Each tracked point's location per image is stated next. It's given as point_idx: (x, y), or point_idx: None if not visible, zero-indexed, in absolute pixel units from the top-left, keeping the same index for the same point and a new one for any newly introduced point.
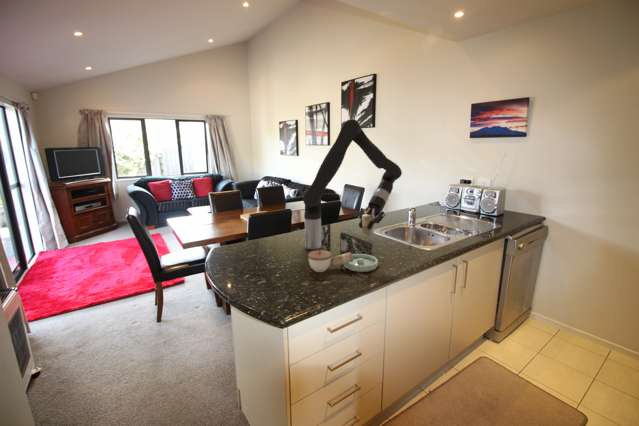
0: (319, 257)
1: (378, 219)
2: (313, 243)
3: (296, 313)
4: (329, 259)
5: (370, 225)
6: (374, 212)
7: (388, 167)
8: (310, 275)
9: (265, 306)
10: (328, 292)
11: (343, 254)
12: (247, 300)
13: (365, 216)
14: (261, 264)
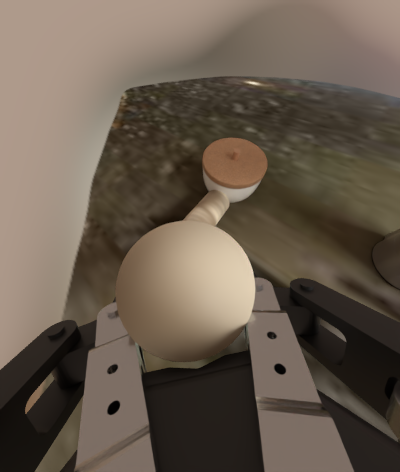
0: (211, 146)
1: (58, 415)
2: (391, 242)
3: (122, 102)
4: (205, 176)
5: None
6: (81, 448)
7: None
8: None
9: (166, 89)
10: (132, 151)
11: (201, 212)
12: (195, 83)
13: (158, 227)
14: (314, 129)
